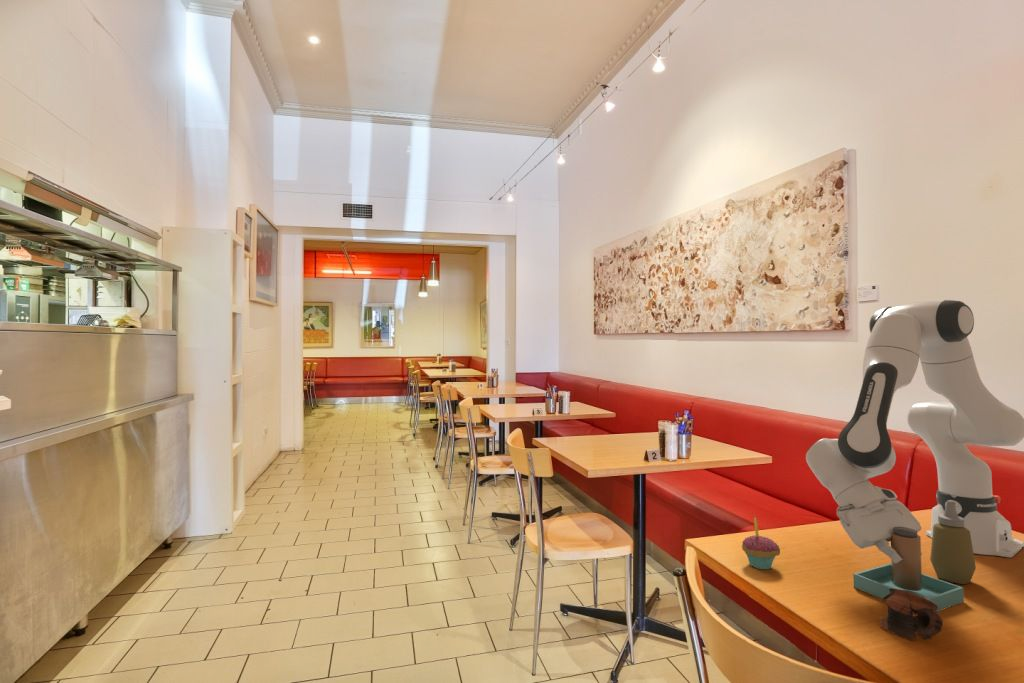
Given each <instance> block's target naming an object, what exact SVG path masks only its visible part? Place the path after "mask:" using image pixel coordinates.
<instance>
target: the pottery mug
mask: <svg viewBox="0 0 1024 683" xmlns="http://www.w3.org/2000/svg"><path fill="white" fill-rule="evenodd" d="M889 591H890V594H888V595H886V596H884V598H881V601H883V602H885V604H886V606H887V616H883V615H881V616H880V628H881V629H883V630H886V631H888V632H891V633H892V634H894V635H897V636H899V637H901V638H904V639H906V640H909V641H911V642H915V640H916V639H915V638H916V635H917V633H918V635H919V636H920V638H922V639H924V640H930V639H932V638H933V637H934V636H936V635H938V634H939V633H940V632H941V631H942V628H943V620H942V618H941V616H940V614H939V613H938V612H937V609H938V606H937V605H936V604H934V603H933V602H931V601H929V600H927V599H925V598H923V597H920V596H918V595H915V594H912V593H909V592H906V591H903V590H898V589H893V588H891V589H889ZM887 598H888V599H887ZM914 614H916V615H914Z"/></svg>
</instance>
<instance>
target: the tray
mask: <svg viewBox="0 0 1024 683" xmlns="http://www.w3.org/2000/svg"><path fill="white" fill-rule="evenodd" d="M852 576H853V588H855V589H857V590H859V591H861V592H865V593H867V594H870V595H872V596H875V597H877V598H879V599H882V598H884V596H886V595H888V594H890V591H889V589H891V588H893V589H898V590H903V591H906V592H909V593H912V594H915V595H918V596H920V597H923V598H925V599H927V600H929V601H931V602H933V603H934V604H936V605H937V606H938V609H937V611H938V612H941V611H943V610H942V609H944V608H946V609H948V608H947V607H949V606H952V605H954V606H957V605H959V604H958V603H960V604H962V603H961V602H963V603H964V602H965V600H964V597H965V596H964V586H963V587H962V586H960V585H956V584H953V583H952V582H949V581H946V580H943V579H939V578H936V577H933V576H930V575H927V574H924V573H922V590H920V591H911V590H906V589H902V588H899V587H897V586H895V585H894V584H893V583H892V567H891V563H887V564H883V565H880V566H877V567H876V566H875V567H872V568H869V569H866V570H865V569H864V570H862V571H858V572H855V573H853V575H852ZM887 599H888V598H887ZM956 604H957V605H956ZM952 607H953V606H952ZM949 608H950V607H949ZM940 610H941V611H940ZM944 610H945V609H944Z"/></svg>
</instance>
